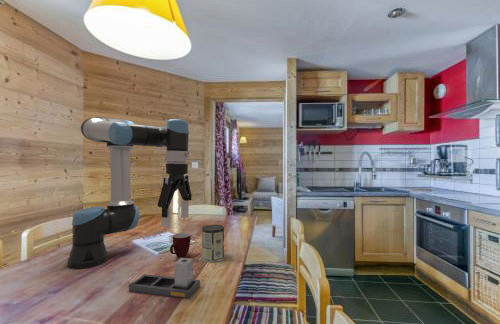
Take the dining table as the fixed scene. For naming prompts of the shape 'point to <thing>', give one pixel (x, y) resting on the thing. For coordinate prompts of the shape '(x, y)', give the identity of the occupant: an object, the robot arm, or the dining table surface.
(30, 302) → the dining table surface
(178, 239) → the mug
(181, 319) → the dining table surface
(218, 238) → the coffee can
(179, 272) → the grey block with knob
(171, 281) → the grey compartment tray
